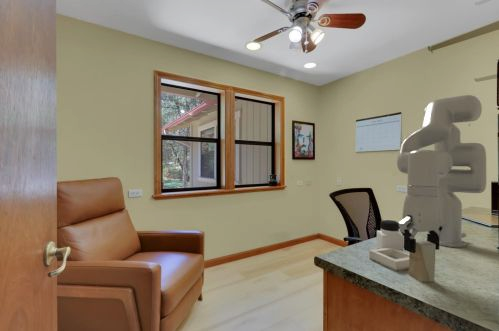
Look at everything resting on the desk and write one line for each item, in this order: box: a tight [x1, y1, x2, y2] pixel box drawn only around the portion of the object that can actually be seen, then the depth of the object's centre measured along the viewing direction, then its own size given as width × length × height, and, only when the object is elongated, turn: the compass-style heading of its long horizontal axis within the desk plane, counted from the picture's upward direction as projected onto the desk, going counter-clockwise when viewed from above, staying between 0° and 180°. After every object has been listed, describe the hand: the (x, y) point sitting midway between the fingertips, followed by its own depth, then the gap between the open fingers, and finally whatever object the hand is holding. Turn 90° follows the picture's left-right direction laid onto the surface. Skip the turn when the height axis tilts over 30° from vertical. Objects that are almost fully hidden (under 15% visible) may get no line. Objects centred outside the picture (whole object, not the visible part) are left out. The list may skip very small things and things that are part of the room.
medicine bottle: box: [376, 219, 404, 252], centre depth 93 cm, size 7×7×12 cm
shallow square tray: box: [368, 247, 409, 272], centre depth 82 cm, size 10×10×3 cm
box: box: [408, 238, 436, 283], centre depth 71 cm, size 5×4×11 cm
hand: (421, 249), depth 71 cm, fingers open, 9 cm apart
